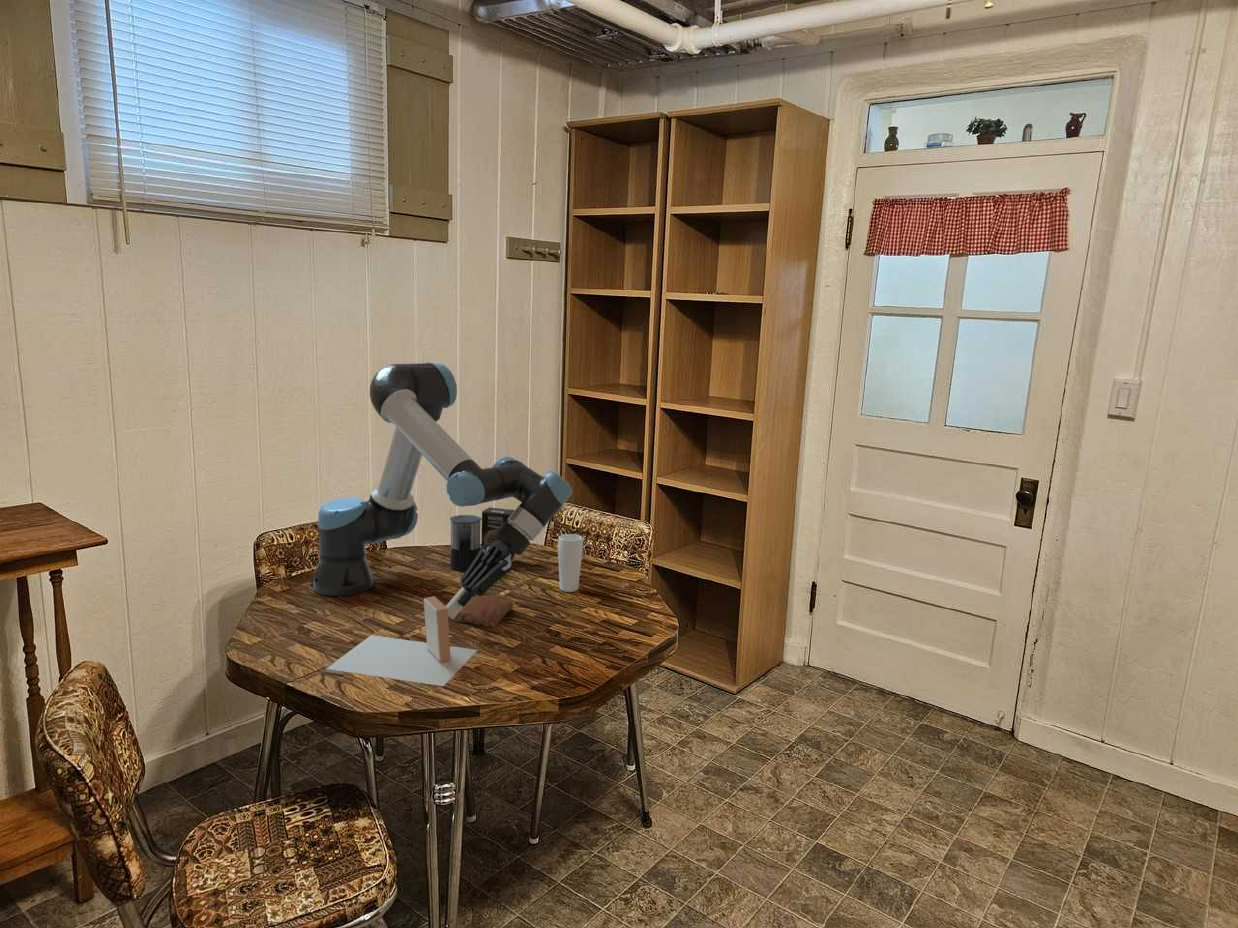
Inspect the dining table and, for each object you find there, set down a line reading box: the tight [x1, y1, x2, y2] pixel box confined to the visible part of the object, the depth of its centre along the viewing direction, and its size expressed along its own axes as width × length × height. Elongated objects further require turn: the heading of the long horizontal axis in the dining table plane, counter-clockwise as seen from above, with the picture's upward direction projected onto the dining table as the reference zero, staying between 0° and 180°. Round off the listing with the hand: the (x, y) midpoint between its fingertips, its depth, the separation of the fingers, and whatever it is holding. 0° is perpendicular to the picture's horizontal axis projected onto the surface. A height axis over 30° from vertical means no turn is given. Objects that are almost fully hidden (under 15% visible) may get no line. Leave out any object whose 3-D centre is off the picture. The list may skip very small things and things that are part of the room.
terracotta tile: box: [423, 595, 451, 663], centre depth 169 cm, size 2×8×12 cm, turn 33°
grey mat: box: [325, 634, 478, 687], centre depth 168 cm, size 26×18×1 cm
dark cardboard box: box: [480, 507, 516, 564], centre depth 236 cm, size 9×6×16 cm
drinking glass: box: [557, 533, 584, 593], centre depth 216 cm, size 7×7×15 cm
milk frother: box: [449, 514, 482, 572], centre depth 230 cm, size 14×16×15 cm
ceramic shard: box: [448, 594, 514, 628], centre depth 195 cm, size 15×6×15 cm
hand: (447, 614), depth 170 cm, fingers closed
